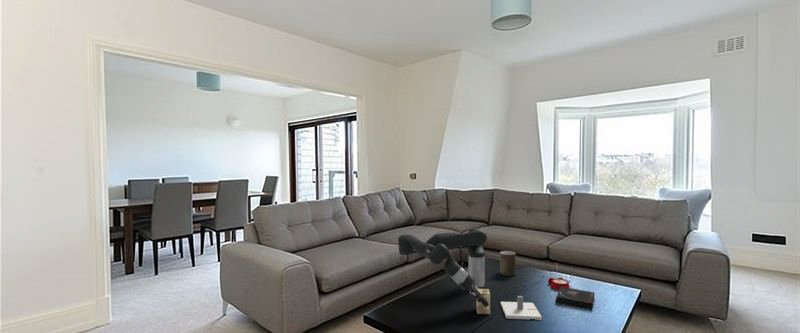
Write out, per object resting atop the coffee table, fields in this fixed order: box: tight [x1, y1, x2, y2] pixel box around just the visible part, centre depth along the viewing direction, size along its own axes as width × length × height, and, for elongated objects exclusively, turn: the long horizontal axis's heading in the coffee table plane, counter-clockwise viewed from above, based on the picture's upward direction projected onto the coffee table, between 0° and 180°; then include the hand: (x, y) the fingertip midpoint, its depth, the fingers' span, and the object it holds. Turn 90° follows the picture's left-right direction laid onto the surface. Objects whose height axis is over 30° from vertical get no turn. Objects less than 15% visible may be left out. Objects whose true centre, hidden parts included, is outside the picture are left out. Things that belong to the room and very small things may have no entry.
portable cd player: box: [554, 287, 595, 311], centre depth 191 cm, size 16×17×4 cm
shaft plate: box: [500, 295, 543, 321], centre depth 178 cm, size 16×16×8 cm
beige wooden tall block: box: [475, 288, 491, 315], centre depth 179 cm, size 6×6×10 cm
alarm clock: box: [547, 277, 573, 291], centre depth 212 cm, size 10×6×15 cm
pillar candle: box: [499, 250, 517, 277], centre depth 235 cm, size 10×10×15 cm
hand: (486, 302), depth 179 cm, fingers closed on beige wooden tall block, 6 cm apart
